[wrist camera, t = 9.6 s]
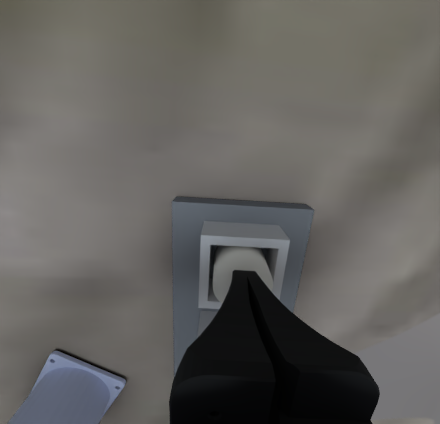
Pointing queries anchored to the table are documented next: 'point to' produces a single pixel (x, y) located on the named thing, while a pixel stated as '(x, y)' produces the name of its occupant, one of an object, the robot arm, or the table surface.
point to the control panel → (230, 236)
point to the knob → (237, 267)
